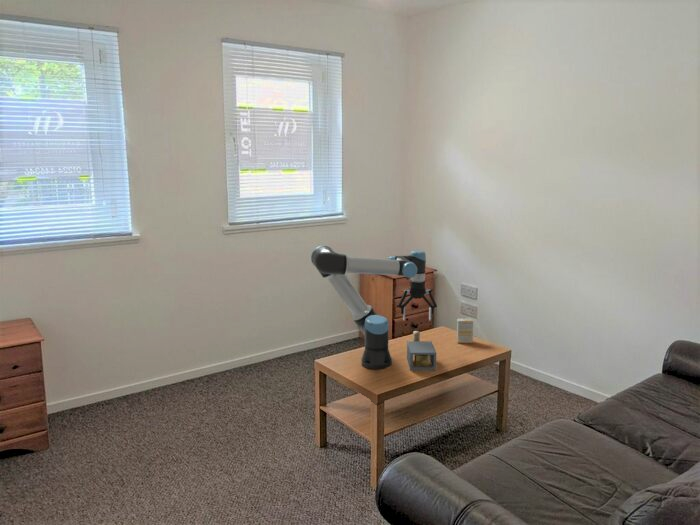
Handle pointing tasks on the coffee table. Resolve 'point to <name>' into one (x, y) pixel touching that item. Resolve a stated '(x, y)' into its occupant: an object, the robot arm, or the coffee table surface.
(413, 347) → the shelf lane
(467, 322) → the supplement box
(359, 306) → the robot arm
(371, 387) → the coffee table surface
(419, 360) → the cream headed mallet
